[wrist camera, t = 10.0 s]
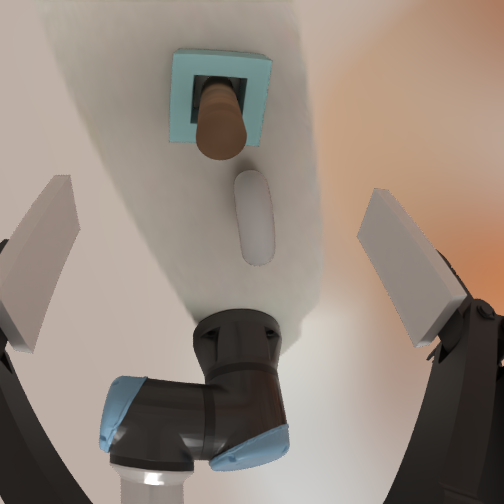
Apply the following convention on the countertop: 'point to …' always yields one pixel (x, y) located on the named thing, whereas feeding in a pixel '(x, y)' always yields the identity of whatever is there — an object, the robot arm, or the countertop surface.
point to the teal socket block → (217, 64)
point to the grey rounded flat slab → (254, 217)
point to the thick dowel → (220, 120)
